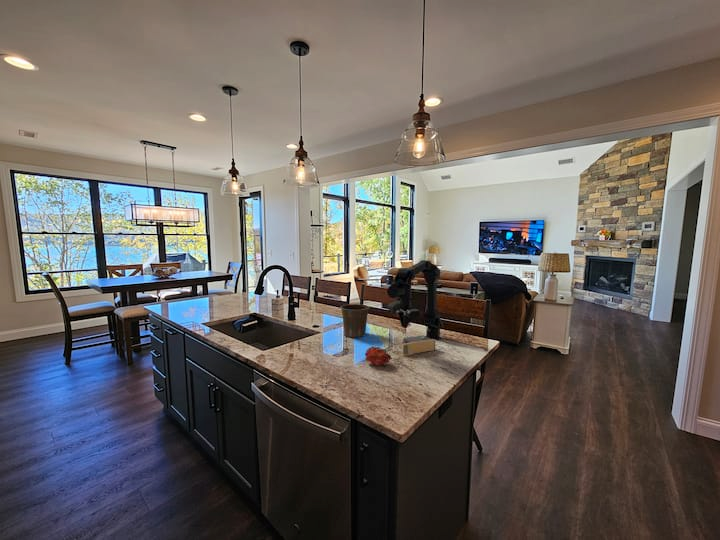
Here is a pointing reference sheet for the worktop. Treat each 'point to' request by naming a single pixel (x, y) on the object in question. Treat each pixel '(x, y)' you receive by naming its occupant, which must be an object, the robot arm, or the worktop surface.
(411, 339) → the action camera body
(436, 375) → the worktop surface
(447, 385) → the worktop surface
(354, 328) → the plant pot
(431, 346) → the side door
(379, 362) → the dragon fruit
